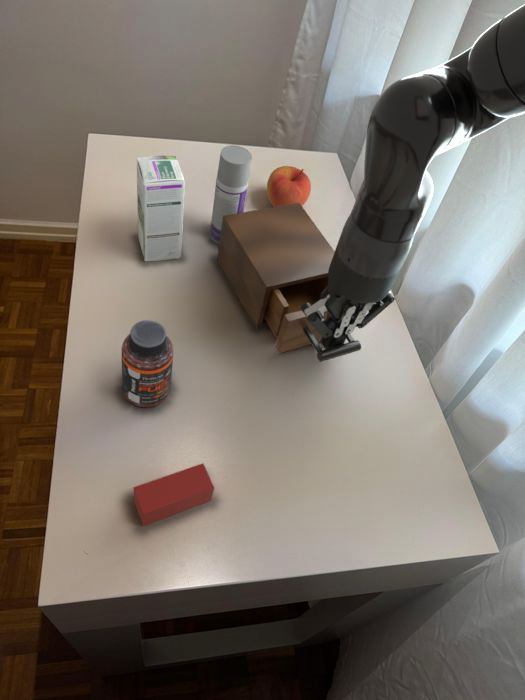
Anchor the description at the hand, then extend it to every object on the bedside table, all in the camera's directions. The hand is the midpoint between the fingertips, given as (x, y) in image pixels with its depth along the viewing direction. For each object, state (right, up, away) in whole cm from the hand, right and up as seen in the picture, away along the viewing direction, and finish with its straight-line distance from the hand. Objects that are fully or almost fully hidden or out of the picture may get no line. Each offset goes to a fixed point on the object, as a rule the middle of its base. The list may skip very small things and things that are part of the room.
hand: (330, 347), depth 77 cm
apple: (-5, +24, +23) cm, 34 cm away
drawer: (-4, +4, +6) cm, 8 cm away
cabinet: (-8, +10, +11) cm, 16 cm away
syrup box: (-25, +15, +11) cm, 32 cm away
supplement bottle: (-24, -5, -4) cm, 25 cm away
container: (-15, +18, +16) cm, 28 cm away
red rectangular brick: (-19, -17, -13) cm, 29 cm away
